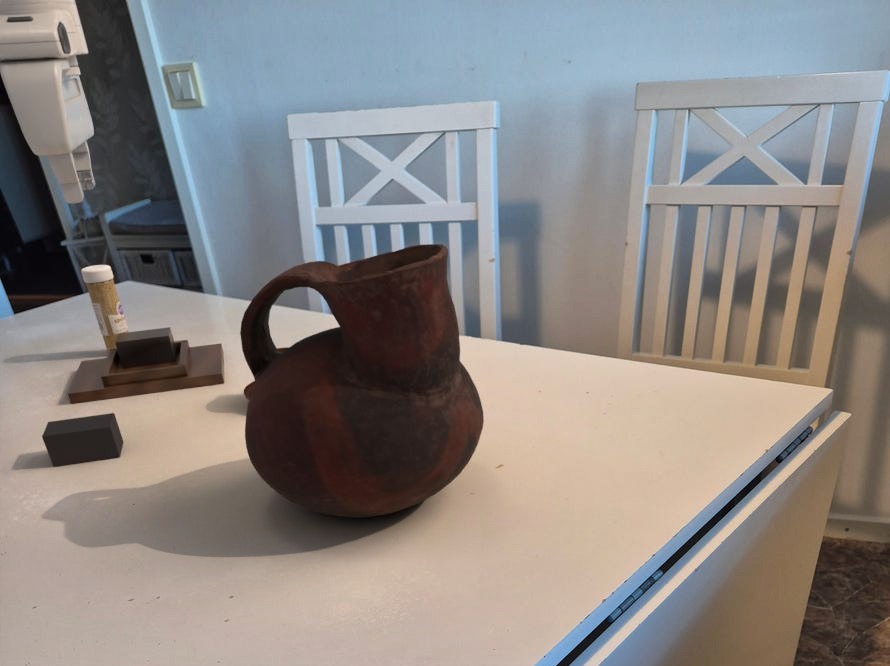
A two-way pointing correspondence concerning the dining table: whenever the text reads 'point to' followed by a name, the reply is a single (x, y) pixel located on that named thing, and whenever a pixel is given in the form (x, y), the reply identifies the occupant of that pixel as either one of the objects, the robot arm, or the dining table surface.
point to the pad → (83, 439)
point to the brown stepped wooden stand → (147, 367)
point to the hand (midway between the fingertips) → (81, 195)
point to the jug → (363, 388)
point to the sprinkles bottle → (105, 303)
